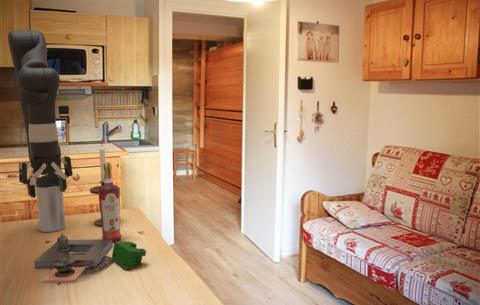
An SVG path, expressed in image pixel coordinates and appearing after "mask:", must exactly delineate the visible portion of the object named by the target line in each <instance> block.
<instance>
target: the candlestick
mask: <svg viewBox="0 0 480 305" xmlns="http://www.w3.org/2000/svg"><path fill="white" fill-rule="evenodd" d="M103 143H104V137H102V139H101V141H100V148H99V163H100V164H99V165H100V177H101V178H100V181H98V183H99V184H100V185H98V186H93V187H91V188H89V193H90V194H93V195H98V189H99V188H100V187H101V186H103V185H104V174H105V171H104V163H105V162H106V149H105V148H104V145H103ZM93 224H94V226H95V227H98V228H102V223H101V218H99V219H97V220H95V221H94V222H93Z"/></svg>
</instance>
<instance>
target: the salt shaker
mask: <svg viewBox="0 0 480 305" xmlns="http://www.w3.org/2000/svg"><path fill="white" fill-rule="evenodd" d="M68 240H69V239H68V237H67V236H66V235H64V233H61V234H60V236H58V238H57V240H56V242H57V246H58V248H57V249H56V250H57V251H58V259H57V260H55V261H54V262H53V265H54V266H55V268H56V270H58V272H56V273H55V276H57V277H67V276H70V275H72V274H74V272H75V271H74V270H73V269H71V268H72V267H73V265H74V262H75V259H74V258H70V255H71V254H70V252H69V249H70V247H68ZM55 268H54V269H55Z"/></svg>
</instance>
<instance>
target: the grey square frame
mask: <svg viewBox="0 0 480 305" xmlns="http://www.w3.org/2000/svg"><path fill="white" fill-rule="evenodd" d="M68 247H70V249H69V253H71V252H72V253H74V252H75V253H76V252H77V253H79V252H82V253H83V252H84V253H85V252H86V253H85V254H69V255H70V258H74V259H75V262H74V265H73V267H77V266H96V264H97V263H98V262H99V261H100V259H101V258H102V257H103V256H104V257H106V255H107V254H108V253H109V251H110V250H111V249H112V247H113V242H112V239H102V238H101V239H68ZM57 248H58V246H57V241H56V242H55V243H53V244H52V245H51V246H50V247H48V248H47V249H46V250H45V251H44V252H43V253H42V254H40V256H38V257H37V258H36V259H34V260H33V261H34V269H35V270H40V269H43V270H44V269H45V270H46V269H49V270H50V269H55V266H54V265H53V262H54V261H55V260H57V259H58V251H57V250H56V249H57ZM104 257H103V258H104ZM100 262H101V261H100ZM100 262H99V263H100ZM96 267H97V266H96Z"/></svg>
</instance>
